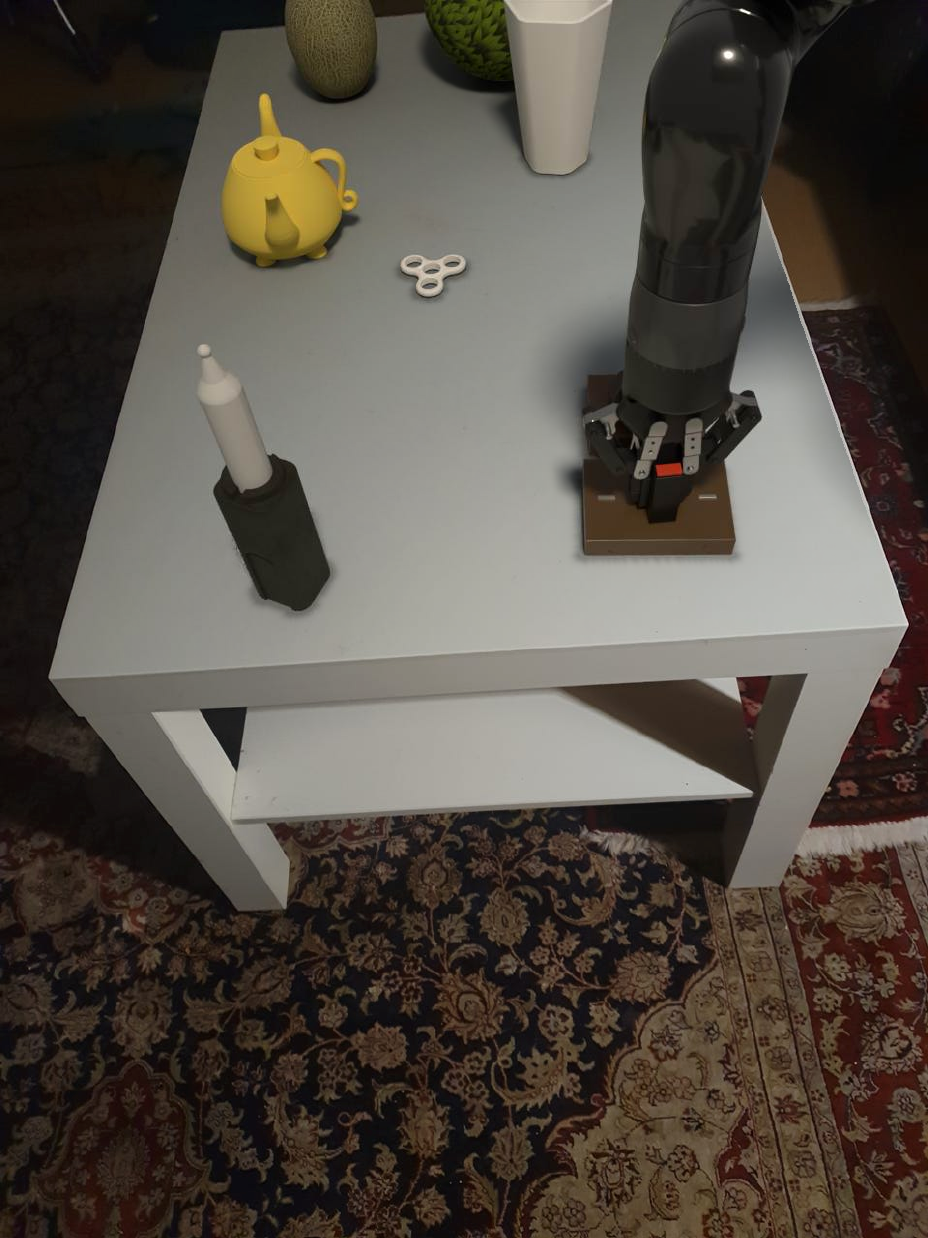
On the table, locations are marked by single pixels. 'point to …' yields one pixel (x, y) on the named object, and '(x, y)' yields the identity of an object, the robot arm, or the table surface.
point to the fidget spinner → (432, 278)
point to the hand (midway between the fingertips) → (657, 496)
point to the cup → (557, 76)
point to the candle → (261, 496)
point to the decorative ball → (473, 35)
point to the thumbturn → (665, 485)
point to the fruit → (332, 43)
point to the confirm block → (608, 403)
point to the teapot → (282, 195)
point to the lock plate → (628, 531)
